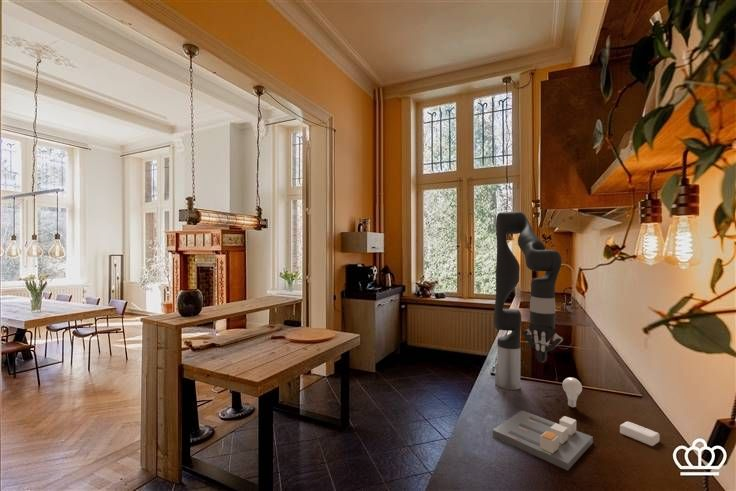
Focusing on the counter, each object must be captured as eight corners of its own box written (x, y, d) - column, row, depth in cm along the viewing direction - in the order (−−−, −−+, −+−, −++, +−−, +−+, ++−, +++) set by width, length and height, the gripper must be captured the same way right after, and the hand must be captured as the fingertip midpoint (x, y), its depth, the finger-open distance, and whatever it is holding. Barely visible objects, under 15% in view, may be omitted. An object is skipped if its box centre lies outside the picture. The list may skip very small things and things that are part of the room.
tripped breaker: (540, 448, 100) (540, 434, 100) (546, 442, 102) (546, 430, 102) (552, 453, 97) (552, 440, 97) (558, 448, 100) (558, 435, 100)
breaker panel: (492, 435, 110) (492, 417, 110) (522, 415, 123) (522, 399, 123) (567, 470, 93) (567, 449, 93) (592, 443, 106) (592, 424, 106)
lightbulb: (562, 408, 128) (562, 379, 128) (562, 401, 134) (562, 373, 134) (582, 412, 125) (582, 382, 125) (581, 405, 131) (581, 376, 131)
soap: (619, 433, 112) (619, 424, 112) (626, 428, 115) (626, 420, 115) (652, 447, 105) (652, 437, 105) (660, 442, 107) (660, 432, 107)
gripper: (517, 308, 117) (516, 358, 117) (559, 315, 106) (558, 370, 107) (527, 305, 121) (527, 353, 122) (568, 311, 111) (567, 364, 112)
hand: (541, 361), depth 115 cm, fingers closed
